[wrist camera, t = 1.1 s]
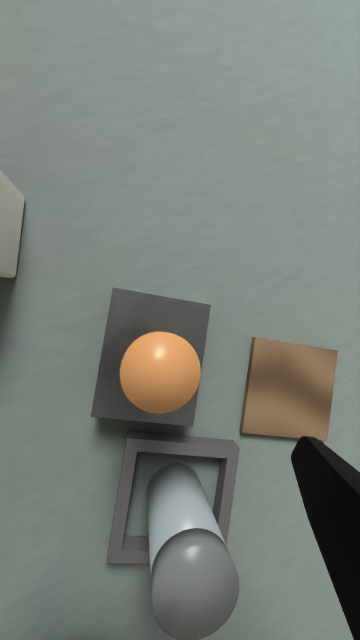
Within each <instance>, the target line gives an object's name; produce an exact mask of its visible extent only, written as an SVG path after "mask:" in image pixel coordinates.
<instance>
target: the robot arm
mask: <svg viewBox="0 0 360 640" xmlns="http://www.w3.org/2000/svg"><path fill="white" fill-rule="evenodd" d="M291 461H292V465H293V468H294V472H295V475H296V479H297V482H298V486H299V489H300V493H301V496H302V500H303V503H304V507H305V510H306V513H307V516H308V519H309V522H310V525H311V527H312V530H313V533H314V535H315V538H316V541H317V543H318V546H319V549H320V551H321V554H322V557H323V559H324V562H325V564H326V567H327V570H328V572H329V575H330V578H331V580H332V583H333V586H334V588H335V591H336V594H337V596H338V599H339V601H340V604H341V607H342V609H343V612H344V615H345V617H346V620H347V623H348V625H349V628H350V631H351V633H352V636H353V638H354V640H360V472H359V471H357V470H356V469H355V468H354V467H352V466H351V465H350V464H349V463H347V462H346V461H345V460H344V459H342V458H341V457H340V456H339V455H337V454H336V453H335V452H334V451H332V450H331V449H330V448H328V447H327V446H326V445H325V444H323V443H322V442H321V441H320V440H318V439H317V438H315V437H311V436H302V437H300V439H299V440H298V442H297V444H296V446H295V448H294V450H293V452H292V455H291Z"/></svg>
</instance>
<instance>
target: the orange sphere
mask: <svg viewBox="0 0 360 640" xmlns="http://www.w3.org/2000/svg"><path fill="white" fill-rule="evenodd" d="M200 375H201V367H200V362H199V358H198V356H197V354H196V352H195V350H194V348H193V347H192V346H191V345H190V344H189V343H188V342H187V341H186V340H185V339H183V338H182V337H180V336H178V335H175V334H173V333H168V332H160V331H158V332H150V333H147V334H144V335H142V336H140V337H139V338H137V339H136V340H135V341H133V342H132V344H131V345H130V346H129V347H128V349H127V351H126V352H125V354H124V357H123V359H122V362H121V366H120V382H121V386H122V389H123V391H124V393H125V395H126V396H127V398H128V399H129V400H130V401H131V402H132V403H133V404H134V405H135V406H136V407H138V408H139V409H141V410H144V411H146V412H149V413H157V414H161V413H168V412H172V411H174V410H177V409H179V408H180V407H182V406H183V405H185V404H186V403H187V402H188V401H189V400H190V399H191V398H192V396H193V395H194V393H195V392H196V390H197V388H198V385H199V381H200Z"/></svg>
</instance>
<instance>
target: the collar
mask: <svg viewBox="0 0 360 640" xmlns="http://www.w3.org/2000/svg"><path fill="white" fill-rule="evenodd" d="M239 449H240V448H239V446H238V445H237V444H236V443H235V442H234V441H233V440H222V439H211V438H200V437H189V436H177V435H166V434H155V433H143V432H132V431H128V432H127V439H126V445H125V451H124V457H123V463H122V469H121V475H120V482H119V488H118V494H117V500H116V506H115V512H114V518H113V525H112V531H111V537H110V543H109V550H108V557H107V564H150V553H149V537H143V536H124V531H125V524H126V518H127V512H128V506H129V499H130V493H131V487H132V481H133V474H134V468H135V462H136V456H137V452H150V453H164V454H177V455H190V456H203V457H216V458H221V460H220V467H219V474H218V482H217V489H216V496H215V503H214V510H213V515H214V517H215V520H216V522H217V524H218V527H219V529H220V532H221V534H222V537H223V539H224V542H225V544H226V543H227V536H228V529H229V522H230V514H231V507H232V500H233V493H234V485H235V478H236V471H237V463H238V456H239Z"/></svg>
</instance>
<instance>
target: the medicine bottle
mask: <svg viewBox="0 0 360 640" xmlns="http://www.w3.org/2000/svg"><path fill="white" fill-rule="evenodd" d="M24 201H25V200H24V197H23V195H22V194H21V193H20V192H19V191H18V190H17V188H16V187H15V186H14V185H13V184H12V183H11V182H10V180H9V179H8V178H7V177H6V176H5V175H4V173H3V172H2V171H1V170H0V277H5V278H14V277H15V276H16V270H17V261H18V253H19V244H20V236H21V227H22V218H23V210H24Z"/></svg>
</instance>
